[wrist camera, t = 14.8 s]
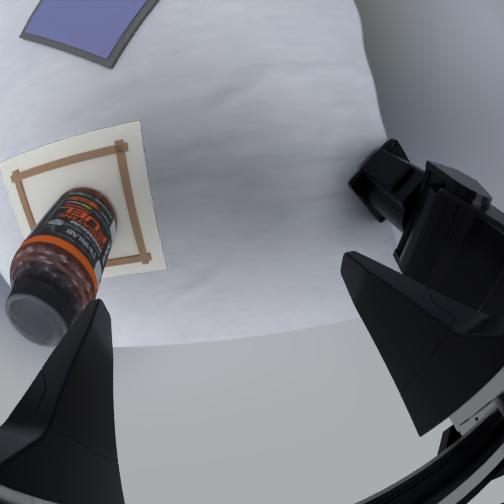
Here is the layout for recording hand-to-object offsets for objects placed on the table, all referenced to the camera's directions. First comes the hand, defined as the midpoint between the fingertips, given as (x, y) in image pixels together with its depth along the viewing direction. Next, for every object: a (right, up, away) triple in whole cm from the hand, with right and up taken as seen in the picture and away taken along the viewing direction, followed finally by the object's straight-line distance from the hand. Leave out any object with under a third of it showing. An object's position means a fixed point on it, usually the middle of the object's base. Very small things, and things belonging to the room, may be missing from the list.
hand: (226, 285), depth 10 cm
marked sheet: (-13, +4, +10) cm, 17 cm away
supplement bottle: (-13, +4, +10) cm, 17 cm away
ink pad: (-10, +18, +1) cm, 21 cm away
